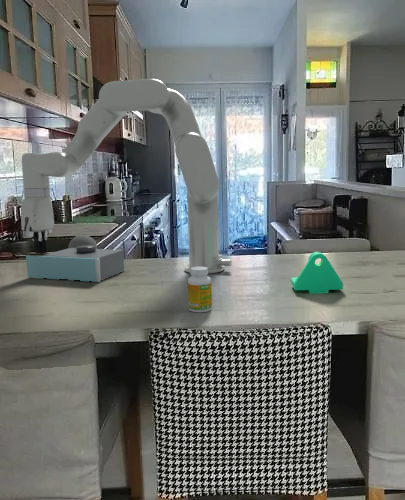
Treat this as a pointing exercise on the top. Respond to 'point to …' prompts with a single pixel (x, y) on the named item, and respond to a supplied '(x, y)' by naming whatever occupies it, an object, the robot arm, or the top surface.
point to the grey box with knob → (108, 258)
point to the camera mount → (317, 276)
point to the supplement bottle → (199, 290)
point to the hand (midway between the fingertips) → (40, 252)
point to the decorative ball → (81, 241)
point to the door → (64, 268)
